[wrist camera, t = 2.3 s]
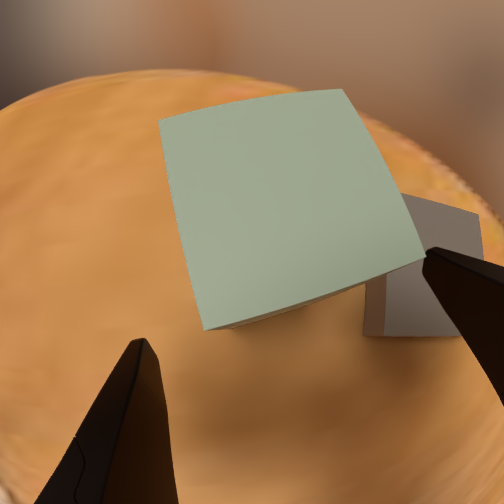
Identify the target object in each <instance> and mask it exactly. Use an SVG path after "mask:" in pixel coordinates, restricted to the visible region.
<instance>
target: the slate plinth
mask: <svg viewBox="0 0 504 504" xmlns="http://www.w3.org/2000/svg"><path fill="white" fill-rule="evenodd" d="M401 195H402V198H403V200H404V202H405V204H406V207H407V209H408V211H409V214H410V216H411V218H412V221H413V223H414V226H415V228H416V231H417V233H418V236H419V238H420V241H421V244H422V246H423V249H424V252H426V250H427V249H429V248H432V247H440V248H444V249H447V250H451V251H454V252H457V253H461V254H464V255H468V256H471V257H474V258H477V259H481V260H484V256H483V246H482V237H481V229H480V222H479V216H478V214H475V213H472V212H469V211H465V210H462V209H459V208H455V207H452V206H448V205H445V204H441V203H438V202H434V201H430V200H426V199H423V198H419V197H415V196H411V195H407V194H403V193H401ZM423 260H424V258H422V259H420V260H418V261H416V262H413V263H411V264H409V265H407V266H404V267H402V268H400V269H398V270H395V271H393V272H391V273H388V274H386V275H384V276H381V277H379V278H376V279H374V280H372V281H369V282H367V283H366V298H365V314H364V327H363V336H389V337H448V336H462V335H461V334H460V332H459V331H458V329H457V328H456V326H455V325H454V324H453V322H452V321H451V319H450V318H449V316H448V315H447V314H446V312H445V311H444V309H443V308H442V306H441V304H440V303H439V301H438V299H437V298H436V296H435V294H434V293H433V291H432V290H431V288H430V286H429V285H428V283H427V282H426V280H425V278H424V277H423V275H422V266H423Z"/></svg>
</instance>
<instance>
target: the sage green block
mask: <svg viewBox="0 0 504 504" xmlns="http://www.w3.org/2000/svg"><path fill="white" fill-rule="evenodd" d="M158 123H159V129H160V135H161V142H162V148H163V154H164V159H165V165H166V170H167V176H168V181H169V186H170V191H171V196H172V201H173V206H174V211H175V216H176V221H177V225H178V230H179V234H180V239H181V243H182V247H183V252H184V256H185V260H186V264H187V268H188V272H189V276H190V280H191V284H192V288H193V292H194V296H195V300H196V303H197V307H198V311H199V314H200V318H201V322H202V325H203V329H204V331H208V330H222V329H231V328H235V327H238V326H242V325H245V324H249V323H252V322H255V321H259V320H262V319H266V318H269V317H272V316H275V315H279V314H282V313H285V312H288V311H291V310H294V309H298V308H301V307H304V306H307V305H310V304H312V303H315V302H318V301H320V300H323V299H326V298H328V297H331V296H334V295H336V294H339V293H341V292H344V291H347V290H349V289H352V288H354V287H357V286H359V285H362V284H364V283H367V282H369V281H372V280H374V279H376V278H379V277H381V276H384V275H386V274H388V273H391V272H393V271H395V270H398V269H400V268H402V267H404V266H407V265H409V264H411V263H413V262H416V261H418V260H420V259H422V258H424V257H426V254H425V252H424V249H423V246H422V244H421V241H420V238H419V236H418V233H417V231H416V228H415V226H414V223H413V221H412V218H411V216H410V214H409V211H408V209H407V207H406V204H405V202H404V200H403V198H402V195H401V193H400V191H399V189H398V187H397V185H396V183H395V181H394V179H393V177H392V174H391V172H390V170H389V168H388V167H387V165H386V163H385V161H384V159H383V157H382V155H381V153H380V151H379V149H378V148H377V146H376V144H375V142H374V140H373V139H372V137H371V135H370V133H369V132H368V130H367V128H366V127H365V125H364V123H363V121H362V120H361V118H360V117H359V115H358V113H357V112H356V110H355V108H354V107H353V105H352V104H351V102H350V101H349V99H348V98H347V96H346V95H345V93H344V92H343V90H342V89H332V90H317V91H306V92H296V93H288V94H280V95H272V96H266V97H259V98H253V99H247V100H241V101H236V102H231V103H226V104H221V105H216V106H212V107H207V108H203V109H199V110H195V111H191V112H187V113H183V114H179V115H175V116H172V117H168V118H165V119H161V120H158Z"/></svg>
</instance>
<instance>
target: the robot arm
mask: <svg viewBox="0 0 504 504" xmlns="http://www.w3.org/2000/svg"><path fill="white" fill-rule="evenodd" d="M425 254H426V257H424V260H423V266H422V275H423V277H424V278H425V280H426V282H427V283H428V285H429V286H430V288H431V290H432V291H433V293H434V294H435V296H436V298H437V299H438V301H439V303H440V304H441V306H442V308H443V309H444V311H445V312H446V314H447V315H448V316H449V318H450V319H451V321H452V322H453V324H454V325H455V326H456V328H457V329H458V331H459V332H460V334H461V335H462V337H463V338H464V340H465V341H466V343H467V344H468V346H469V347H470V349H471V350H472V352H473V354H474V355H475V357H476V358H477V360H478V362H479V363H480V365H481V366H482V368H483V370H484V371H485V373H486V375H487V376H488V378H489V380H490V382H491V383H492V385H493V387H494V389H495V390H496V392H497V394H498V396H499V398H500V400H501V402H502V404H503V406H504V267H503V266H500V265H496V264H493V263H490V262H487V261H484V260H481V259H477V258H474V257H471V256H468V255H464V254H461V253H457V252H454V251H451V250H447V249H444V248H440V247H432V248H429V249H427V250H426V252H425ZM75 436H76V437H74V438H73V440H72V442H71V443H70V445H69V447H68V449H67V451H66V453H65V454H64V456H63V458H62V460H61V461H60V463H59V465H58V466H57V468H56V470H55V471H54V473H53V474H52V476H51V478H50V479H49V481H48V482H47V484H46V485H45V487H44V488H43V490H42V492H41V493H40V495H39V496H38V498H37V499H36V501H35V503H34V504H179V502H178V496H177V490H176V483H175V477H174V469H173V461H172V453H171V444H170V434H169V424H168V413H167V405H166V400H165V394H164V389H163V383H162V377H161V371H160V365H159V360H158V357H157V355H156V354H155V352H154V351H153V349H152V347H151V346H150V344H149V342H148V341H147V340H146V339H145V338H139V339H134V340H132V341H131V342H130V343H129V345H128V346H127V348H126V349H125V351H124V353H123V354H122V356H121V357H120V359H119V361H118V362H117V364H116V365H115V367H114V369H113V370H112V372H111V374H110V375H109V377H108V379H107V380H106V382H105V384H104V385H103V387H102V389H101V390H100V392H99V394H98V396H97V397H96V399H95V401H94V402H93V404H92V406H91V408H90V409H89V411H88V413H87V415H86V416H85V418H84V420H83V422H82V424H81V425H80V427H79V429H78V431H77V433H76V434H75Z"/></svg>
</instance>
